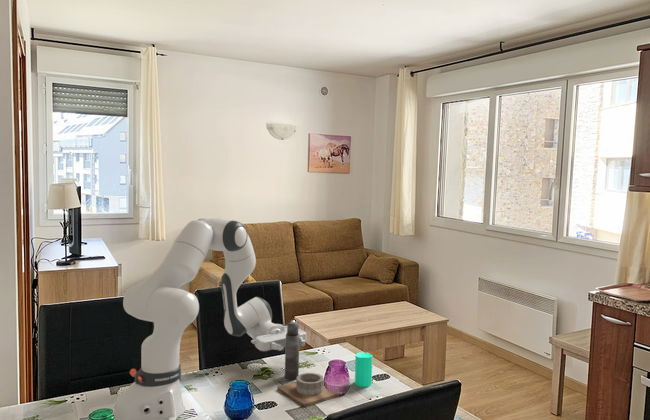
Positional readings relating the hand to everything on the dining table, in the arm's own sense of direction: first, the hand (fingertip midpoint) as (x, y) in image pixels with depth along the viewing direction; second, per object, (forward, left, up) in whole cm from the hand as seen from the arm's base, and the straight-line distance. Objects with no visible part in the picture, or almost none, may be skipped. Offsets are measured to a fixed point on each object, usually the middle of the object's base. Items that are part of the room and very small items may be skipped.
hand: (292, 345), depth 182 cm
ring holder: (-2, -14, -12) cm, 18 cm away
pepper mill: (0, 0, -12) cm, 12 cm away
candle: (+18, -18, -12) cm, 29 cm away
